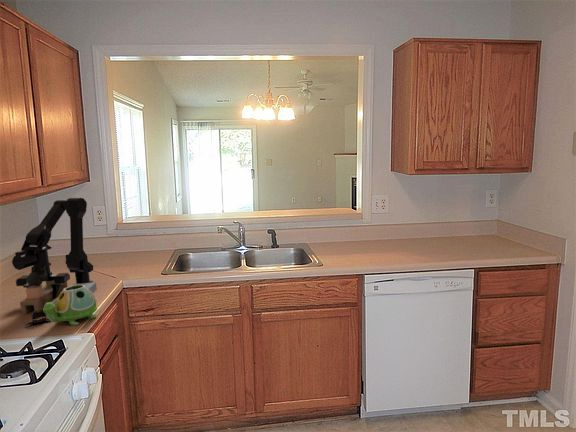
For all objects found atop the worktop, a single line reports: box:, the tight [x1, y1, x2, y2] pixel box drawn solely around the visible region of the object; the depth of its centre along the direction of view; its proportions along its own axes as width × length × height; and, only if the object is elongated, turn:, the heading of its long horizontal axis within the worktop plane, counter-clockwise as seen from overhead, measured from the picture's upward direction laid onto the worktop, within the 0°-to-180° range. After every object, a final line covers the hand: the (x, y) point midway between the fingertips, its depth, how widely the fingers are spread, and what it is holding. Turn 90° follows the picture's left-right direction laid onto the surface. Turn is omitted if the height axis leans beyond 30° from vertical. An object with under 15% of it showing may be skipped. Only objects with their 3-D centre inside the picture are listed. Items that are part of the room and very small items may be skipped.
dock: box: [52, 282, 98, 313], centre depth 174 cm, size 25×9×3 cm, turn 5°
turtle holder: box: [43, 284, 98, 326], centre depth 152 cm, size 12×18×12 cm
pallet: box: [19, 281, 68, 315], centre depth 173 cm, size 24×6×5 cm, turn 3°
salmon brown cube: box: [25, 284, 43, 299], centre depth 166 cm, size 4×4×4 cm
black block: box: [23, 310, 53, 329], centre depth 153 cm, size 12×7×5 cm, turn 123°
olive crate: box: [45, 273, 58, 287], centre depth 180 cm, size 4×4×4 cm
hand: (46, 299), depth 174 cm, fingers closed on pallet, 6 cm apart
